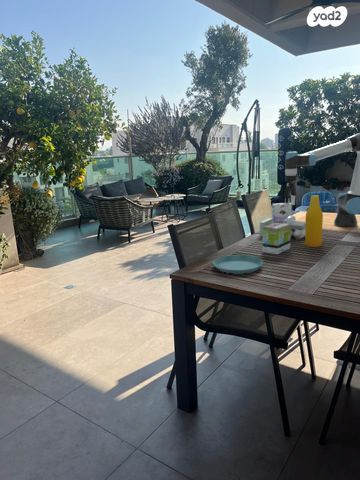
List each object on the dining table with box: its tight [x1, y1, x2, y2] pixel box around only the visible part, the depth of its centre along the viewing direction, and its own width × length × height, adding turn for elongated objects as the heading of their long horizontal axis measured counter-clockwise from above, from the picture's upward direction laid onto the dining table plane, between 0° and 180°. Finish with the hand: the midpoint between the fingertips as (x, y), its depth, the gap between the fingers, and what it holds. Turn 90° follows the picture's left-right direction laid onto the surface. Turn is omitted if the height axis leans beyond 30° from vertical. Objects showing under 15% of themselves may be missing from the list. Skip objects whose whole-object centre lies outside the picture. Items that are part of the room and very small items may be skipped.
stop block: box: [259, 217, 273, 237], centre depth 237 cm, size 3×16×10 cm, turn 144°
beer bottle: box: [304, 194, 324, 248], centre depth 200 cm, size 9×9×29 cm
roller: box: [283, 214, 297, 224], centre depth 244 cm, size 5×12×5 cm, turn 144°
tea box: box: [262, 223, 292, 255], centre depth 196 cm, size 15×10×15 cm, turn 137°
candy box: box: [271, 202, 293, 224], centre depth 263 cm, size 14×6×16 cm, turn 84°
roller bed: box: [291, 227, 306, 240], centre depth 226 cm, size 13×16×6 cm
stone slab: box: [285, 220, 306, 230], centre depth 225 cm, size 12×14×2 cm
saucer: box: [212, 254, 264, 275], centre depth 171 cm, size 24×24×3 cm
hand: (289, 206), depth 241 cm, fingers open, 13 cm apart
